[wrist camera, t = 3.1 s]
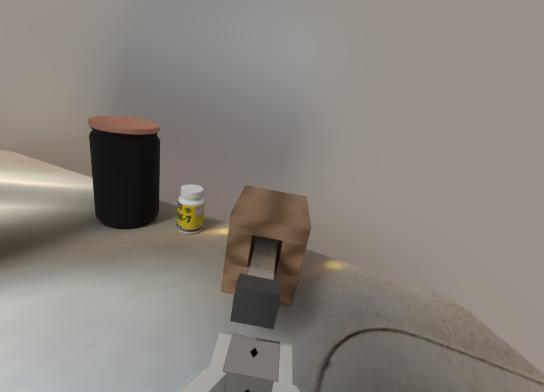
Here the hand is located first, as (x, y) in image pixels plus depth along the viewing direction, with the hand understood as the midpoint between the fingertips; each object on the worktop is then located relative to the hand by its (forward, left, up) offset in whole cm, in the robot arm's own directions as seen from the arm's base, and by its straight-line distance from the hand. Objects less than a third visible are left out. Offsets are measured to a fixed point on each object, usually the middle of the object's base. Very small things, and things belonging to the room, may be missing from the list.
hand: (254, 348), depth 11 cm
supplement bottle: (-15, +36, -17) cm, 43 cm away
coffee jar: (-27, +36, -17) cm, 48 cm away
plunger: (0, +18, -12) cm, 22 cm away
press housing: (0, +27, -17) cm, 32 cm away
